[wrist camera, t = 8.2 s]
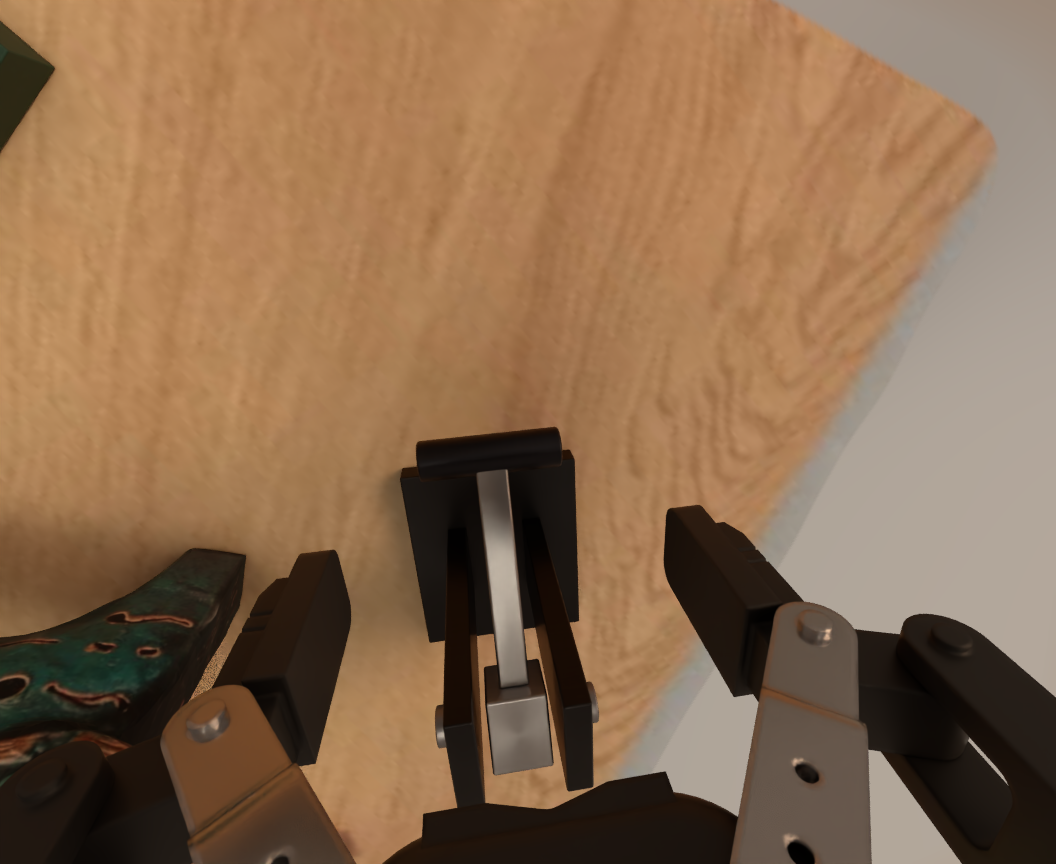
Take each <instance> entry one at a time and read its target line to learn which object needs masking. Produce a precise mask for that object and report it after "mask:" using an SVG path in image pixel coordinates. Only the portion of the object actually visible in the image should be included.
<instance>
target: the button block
mask: <svg viewBox="0 0 1056 864" xmlns="http://www.w3.org/2000/svg"><path fill="white" fill-rule="evenodd" d="M53 70H54V67H53V66H52V65H51V64H50V63H49V62H47V61H46V60H45V59H44V58H43V57H42V56H40V55H39V54H38V53H37V52H36V51H35V50H33V49H32V48H31V47H30V46H29V45H28V44H26V43H25V42H24V41H23V40H22V39H21V38H19V37H18V36H17V35H16V34H15V33H14V32H12V31H11V30H10V29H9V28H8V27H6V26H5V25H4V24H3V23H2V22H1V21H0V151H1V149H2V148H3V146H4V145H5V143H6V142H7V140H8V139H9V137H10V135H11V134H12V132H13V131H14V129H15V128H16V126H17V125H18V123H19V122H20V120H21V119H22V117H23V116H24V114H25V113H26V111H27V110H28V108H29V107H30V105H31V104H32V102H33V100H34V99H35V97H36V96H37V94H38V93H39V91H40V90H41V88H42V87H43V85H44V84H45V82H46V81H47V79H48V78H49V76H50V75H51V73H52V72H53Z"/></svg>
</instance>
